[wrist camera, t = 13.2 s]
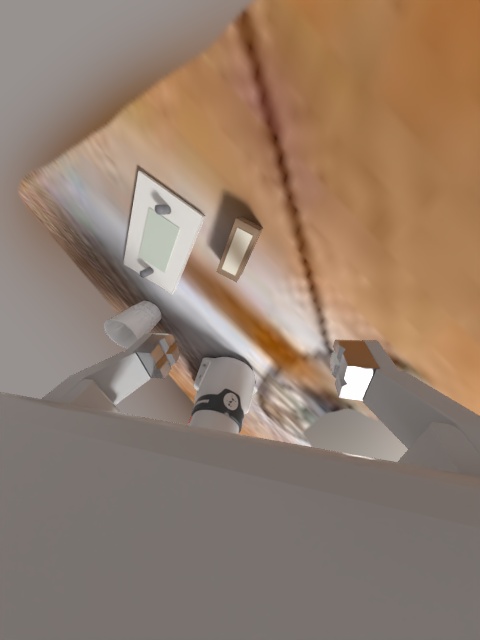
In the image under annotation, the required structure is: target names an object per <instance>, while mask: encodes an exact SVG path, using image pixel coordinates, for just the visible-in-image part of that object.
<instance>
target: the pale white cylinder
mask: <svg viewBox="0 0 480 640" xmlns="http://www.w3.org/2000/svg"><path fill="white" fill-rule="evenodd" d="M160 320H161V312H160V310H159V308H158V307H157V306H156V305H155V304H153V303H151V302H149V301H141V302H139V303H137V304H136V305H133V306H131V307H130V308H128V309H126V310H124V311H122V312H121V313H119V314H117V315H116V316H114V317H112V318H111V319H109V320H107V321H106V322H105V323H104V330H105V332H106V334H107V335H108V337H109V338H110V339H111V340H112V341H113V342H115V343H116V344H118V345H120V346H122V347H124V348H129V347H131V346H132V345H133V344H134V343H135V342H136V341H137V340H138V339H139V338H141V337H142V336H143V335H144V334H146V333H150V332H151V330H152V329H153V328H154V327H155V325H156V324H157V323H158V322H159V321H160Z"/></svg>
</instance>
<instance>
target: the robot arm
mask: <svg viewBox="0 0 480 640" xmlns="http://www.w3.org/2000/svg"><path fill="white" fill-rule="evenodd" d="M174 342H175V338H174V336H173V335H171V334H161V333H146V334H144V335H143V336H142V337H141V338H139V339H138V340H137V341H136V342H135V343H134V344H133V345H132V346H131V347H129V348H128V349H127V350H126V351H125V352H121V353H119V354H116V355H114V356H112V357H110V358H108V359H106V360H104V361H102V362H99V363H97V364H95V365H93V366H91V367H89V368H86V369H84V370H82V371H80V372H78V373H76V374H74V375H71V376H70V377H69V378H67V379H66V380H65V381H63V382H62V383H61V384H60V385H58V386H57V387H56V388H55V389H53V390H52V391H51V392H49V393H48V394H47V395H46V396H44V397H43V398H42V399H37V398H31V397H26V396H20V395H15V394H9V393H4V392H0V640H480V416H479V415H477V414H475V413H474V412H472V411H470V410H469V409H467V408H465V407H464V406H462V405H460V404H459V403H457V402H455V401H454V400H452V399H450V398H449V397H447V396H445V395H444V394H442V393H440V392H438V391H437V390H435V389H433V388H432V387H430V386H428V385H427V384H425V383H423V382H422V381H420V380H418V379H417V378H415V377H413V376H412V375H410V374H408V373H406V372H405V371H399V370H398V369H397V367H396V366H395V364H394V363H393V362H392V360H391V359H390V357H389V356H388V355H387V353H386V352H385V350H384V349H383V347H382V346H381V345H380V343H379V342H378V341H376V340H362V341H360V340H335V342H334V345H333V348H334V351H335V352H334V353H333V354H331V371H332V375H333V376H334V377H335V378H336V381H335V386H336V389H337V392H338V396H339V398H347V399H354V400H362V401H363V403H364V404H365V405H366V406H367V407H368V408H369V409H370V410H371V411H372V412H373V413H374V414H375V415H376V416H377V417H378V418H379V419H380V420H381V421H382V422H383V423H384V424H385V425H386V427H388V429H389V430H390V431H391V432H392V433H393V434H394V435H395V436H396V437H397V438H398V439H399V440H400V441H401V442H402V443H403V444H404V445H405V446H406V447H407V448H408V450H407V452H406V453H405V454H404V455H403V456H402V457H401V458H400V460H399V461H398V462H393V461H387V460H381V459H376V458H370V457H364V456H358V455H353V454H347V453H342V452H336V451H330V450H325V449H319V448H314V447H308V446H302V445H297V444H291V443H285V442H280V441H274V440H269V439H263V438H257V437H252V436H246V435H241V434H238V433H239V432H240V431H241V427H242V425H243V418H244V414H246V413H248V411H249V408H250V404H251V400H252V396H253V394H254V393H256V392H257V390H258V387H257V385H256V383H255V375H254V373H253V371H252V369H251V368H250V367H249V366H248V365H247V364H245V363H244V362H242V361H240V360H237V359H235V358H230V357H219V358H207V357H205V358H203V359H202V362H201V365H200V368H199V371H198V373H197V376H196V379H195V382H194V385H193V386H194V388H195V389H196V390H197V394H196V396H195V398H194V401H195V405H194V407H193V411H192V416H191V418H190V420H189V425H184V424H179V423H173V422H167V421H162V420H156V419H150V418H145V417H139V416H133V415H128V414H122V413H119V409H118V408H117V407H116V406H115V405H116V404H117V403H119V402H120V401H121V400H122V399H124V398H125V397H127V396H128V395H129V394H131V393H132V392H133V391H135V390H136V389H137V388H139V387H140V386H141V385H143V384H144V383H145V382H147V381H148V380H149V379H150V378H162V379H164V378H165V377H166V376H167V374H168V373H169V372H170V370H171V365H173V364H174V363H176V361H177V360H178V358H179V354H180V352H179V348H178V346H177V345H176V344H175V343H174Z"/></svg>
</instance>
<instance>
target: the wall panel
mask: <svg viewBox="0 0 480 640" xmlns="http://www.w3.org/2000/svg"><path fill="white" fill-rule="evenodd" d="M204 219H205V216H204V215H203V214H201V213H200V212H199V211H197V210H196V209H194V208H193V207H192V206H190V205H189V204H187V203H186V202H185V201H183V200H182V199H180V198H179V197H178V196H176V195H175V194H173V193H172V192H171V191H169V190H168V189H167V188H165V187H164V186H162V185H161V184H160V183H158V182H157V181H155V180H154V179H153V178H151V177H150V176H148V175H147V174H146V173H144V172H142V171H138V176H137V183H136V189H135V195H134V201H133V207H132V214H131V220H130V226H129V232H128V239H127V245H126V251H125V257H124V263H123V264H124V265H126V266H127V267H129V268H131V269H132V270H134V271H135V272H137V273H139V274H140V275H141V277H143V278H147V279H148V280H150V281H152V282H153V283H155V284H156V285H158V286H160V287H161V288H163V289H164V290H166V291H168V292H169V293H171V294H173V293H174V292H175V290H176V288H177V285H178V283H179V281H180V278H181V276H182V273H183V271H184V268H185V266H186V263H187V261H188V258H189V256H190V253H191V251H192V248H193V246H194V243H195V241H196V239H197V236H198V234H199V231H200V229H201V226H202V224H203V221H204Z"/></svg>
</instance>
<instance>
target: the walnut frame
mask: <svg viewBox="0 0 480 640" xmlns="http://www.w3.org/2000/svg"><path fill="white" fill-rule="evenodd" d="M262 229H263V228H262V227H260V226H259V225H257V224H255V223H253V222H251V221H249V220H247V219H246V218H244V217H239V218H236V219H235V222H234V225H233V227H232V230H231V233H230V236H229V239H228V241H227V244H226V247H225V250H224V252H223V255H222V258H221V261H220V263H219V266H218V269H217V272H218V273H220V274H222V275H224V276H226V277H228V278H229V279H231V280H233V281H235V282H237V281H238V279H239V278H240V276H241V274H242V272H243V270H244V268H245V266H246V264H247V262H248V259H249V257H250V255H251V253H252V251H253V249H254V246H255V244H256V242H257V240H258V238H259V236H260V233H261V231H262Z"/></svg>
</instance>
